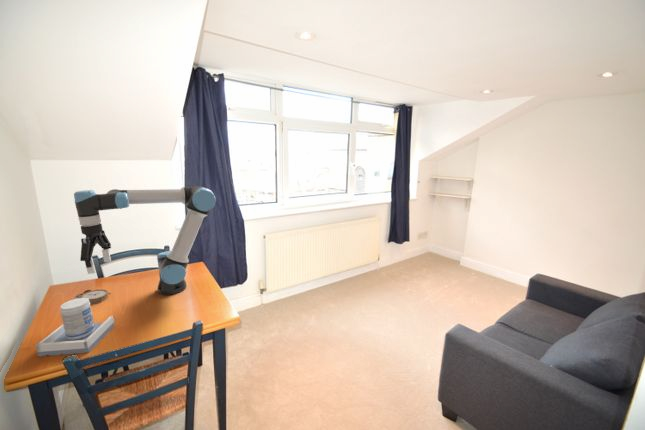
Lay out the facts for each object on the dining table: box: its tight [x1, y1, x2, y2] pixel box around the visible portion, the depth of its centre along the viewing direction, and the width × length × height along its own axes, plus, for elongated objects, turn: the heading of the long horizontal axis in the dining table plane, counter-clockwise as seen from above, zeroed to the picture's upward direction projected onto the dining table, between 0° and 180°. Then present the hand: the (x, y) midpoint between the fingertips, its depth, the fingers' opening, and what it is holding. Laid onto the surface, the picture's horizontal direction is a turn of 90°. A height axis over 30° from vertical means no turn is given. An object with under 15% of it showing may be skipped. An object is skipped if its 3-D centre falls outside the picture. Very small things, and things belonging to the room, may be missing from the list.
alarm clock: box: [73, 288, 111, 305], centre depth 152 cm, size 11×5×15 cm
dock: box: [35, 315, 115, 357], centre depth 119 cm, size 18×18×5 cm
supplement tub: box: [59, 297, 95, 340], centre depth 119 cm, size 10×10×15 cm
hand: (100, 267), depth 133 cm, fingers open, 13 cm apart
